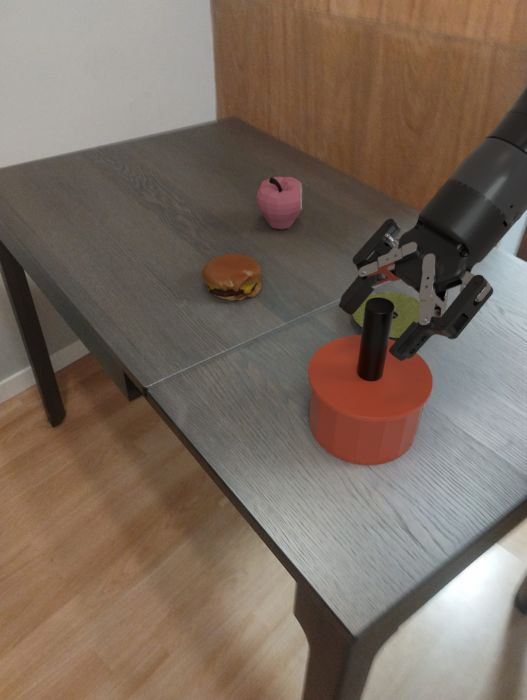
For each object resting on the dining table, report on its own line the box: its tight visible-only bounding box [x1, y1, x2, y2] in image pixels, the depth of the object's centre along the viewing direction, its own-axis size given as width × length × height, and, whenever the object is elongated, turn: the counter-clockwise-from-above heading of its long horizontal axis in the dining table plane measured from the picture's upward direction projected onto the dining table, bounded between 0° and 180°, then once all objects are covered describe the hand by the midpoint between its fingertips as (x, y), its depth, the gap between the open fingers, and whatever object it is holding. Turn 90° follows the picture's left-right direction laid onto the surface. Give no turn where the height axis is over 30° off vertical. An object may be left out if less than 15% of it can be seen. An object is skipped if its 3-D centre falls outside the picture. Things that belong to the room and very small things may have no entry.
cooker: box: [309, 387, 424, 466], centre depth 61 cm, size 12×12×8 cm
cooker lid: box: [307, 297, 434, 422], centre depth 56 cm, size 13×13×10 cm
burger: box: [201, 253, 263, 302], centre depth 85 cm, size 10×9×5 cm
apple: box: [255, 176, 303, 230], centre depth 99 cm, size 10×9×10 cm
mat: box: [351, 291, 421, 339], centre depth 78 cm, size 11×11×2 cm
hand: (368, 332), depth 54 cm, fingers open, 8 cm apart
